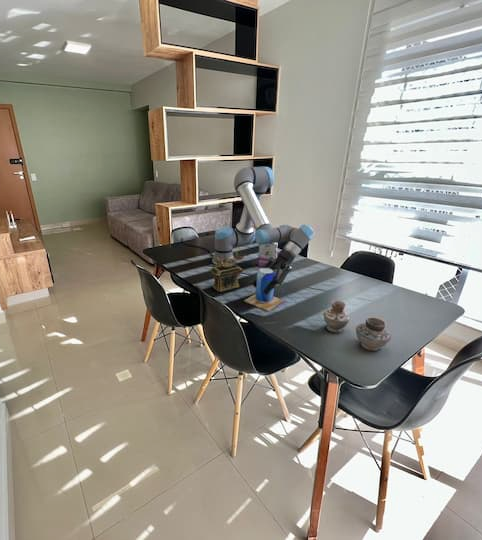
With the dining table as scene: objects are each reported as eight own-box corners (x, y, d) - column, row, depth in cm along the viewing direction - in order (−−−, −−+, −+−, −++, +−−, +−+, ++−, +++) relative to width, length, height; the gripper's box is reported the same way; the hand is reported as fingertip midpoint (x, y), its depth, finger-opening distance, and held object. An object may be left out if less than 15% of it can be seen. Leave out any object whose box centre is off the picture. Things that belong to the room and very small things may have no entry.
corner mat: (243, 301, 143) (243, 300, 142) (260, 292, 152) (260, 291, 151) (267, 311, 133) (267, 310, 133) (283, 301, 142) (284, 300, 142)
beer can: (262, 305, 137) (264, 275, 131) (251, 298, 144) (253, 269, 138) (276, 301, 141) (279, 271, 135) (265, 294, 147) (267, 265, 141)
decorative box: (217, 293, 151) (217, 258, 144) (208, 286, 159) (208, 253, 152) (248, 285, 159) (250, 252, 152) (238, 279, 167) (239, 247, 160)
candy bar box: (276, 266, 186) (278, 241, 180) (274, 268, 182) (277, 244, 176) (258, 264, 190) (260, 240, 184) (257, 266, 186) (258, 242, 180)
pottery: (330, 319, 126) (334, 295, 122) (392, 347, 107) (400, 320, 103) (315, 328, 120) (319, 303, 115) (378, 360, 101) (385, 331, 97)
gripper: (308, 264, 131) (277, 302, 131) (279, 251, 149) (251, 285, 149) (300, 255, 128) (268, 294, 128) (271, 243, 146) (242, 277, 146)
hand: (259, 289), depth 139 cm, fingers closed on beer can, 8 cm apart
